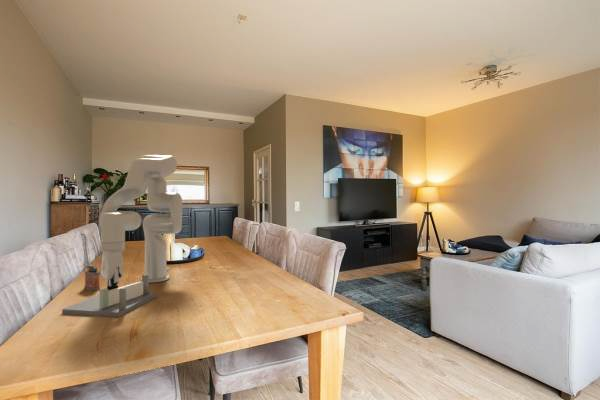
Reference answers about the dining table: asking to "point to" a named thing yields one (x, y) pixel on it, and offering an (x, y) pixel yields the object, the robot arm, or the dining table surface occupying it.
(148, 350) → the dining table surface
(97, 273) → the lighter
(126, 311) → the base
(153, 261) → the robot arm
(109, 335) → the dining table surface
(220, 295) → the dining table surface
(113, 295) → the pale rectangular block
